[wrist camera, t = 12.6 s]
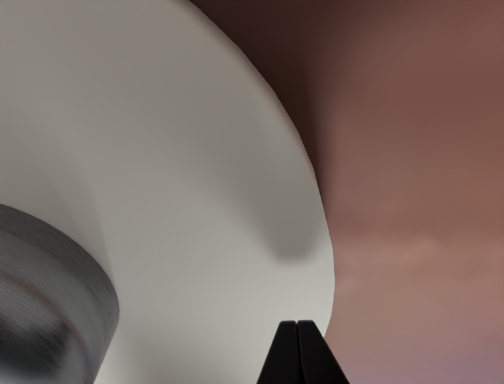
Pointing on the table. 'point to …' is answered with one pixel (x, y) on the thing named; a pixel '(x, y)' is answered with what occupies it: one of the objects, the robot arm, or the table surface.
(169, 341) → the turntable
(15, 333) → the cover
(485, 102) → the table surface
